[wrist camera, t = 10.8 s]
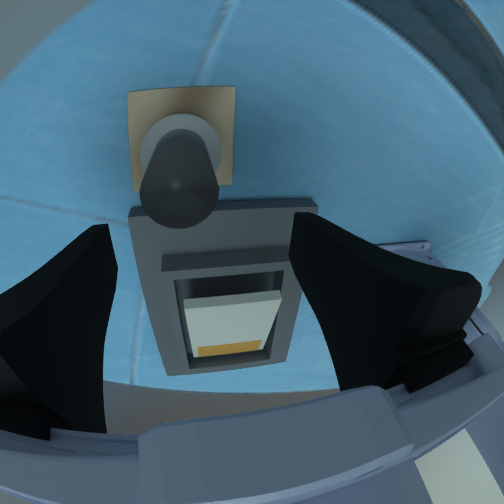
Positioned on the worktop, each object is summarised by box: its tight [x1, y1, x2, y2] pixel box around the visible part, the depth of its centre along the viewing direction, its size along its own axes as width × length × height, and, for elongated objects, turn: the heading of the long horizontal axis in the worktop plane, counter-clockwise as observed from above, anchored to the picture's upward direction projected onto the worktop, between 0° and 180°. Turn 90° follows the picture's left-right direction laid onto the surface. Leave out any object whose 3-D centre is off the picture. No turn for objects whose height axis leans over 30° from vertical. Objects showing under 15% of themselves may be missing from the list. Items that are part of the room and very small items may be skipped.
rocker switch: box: [184, 290, 282, 357], centre depth 24 cm, size 7×10×1 cm
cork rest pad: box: [127, 86, 236, 191], centre depth 18 cm, size 7×7×1 cm
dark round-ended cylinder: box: [140, 113, 222, 229], centre depth 14 cm, size 5×5×9 cm
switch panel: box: [128, 199, 318, 376], centre depth 25 cm, size 14×20×4 cm
